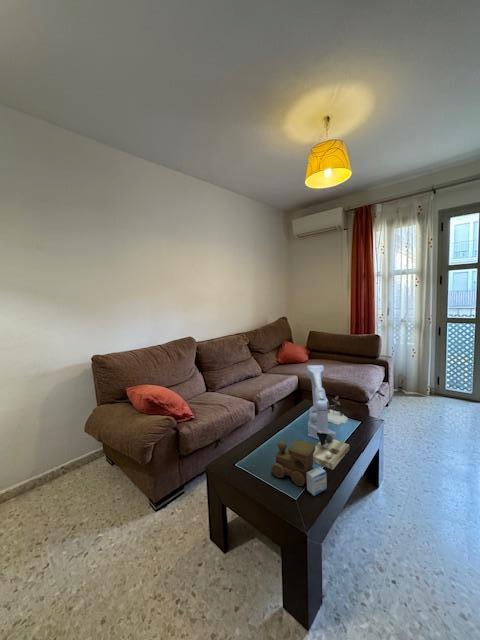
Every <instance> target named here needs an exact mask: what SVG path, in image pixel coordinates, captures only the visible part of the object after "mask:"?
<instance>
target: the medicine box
mask: <svg viewBox="0 0 480 640" xmlns="http://www.w3.org/2000/svg"><path fill="white" fill-rule="evenodd" d="M327 486H328V485H327V471H326V470H325V469H323V468H322V467H321V466H318V467H315V468H314V469H313V470H311V471H309V472H307V483H306V490H307V491H308V492H309V494H311V495H312V496H313V497H315V496H317V495H319V494H321V493H322V492H324V491H326V490H327V488H328V487H327Z"/></svg>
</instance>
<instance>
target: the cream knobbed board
mask: <svg viewBox="0 0 480 640" xmlns="http://www.w3.org/2000/svg"><path fill="white" fill-rule="evenodd" d="M325 442H326V443H327V444H328V448H327V449H325V448H323V446H321V442H320V441H319V442H318V443H317V444H316V445H315V452H314V454H313V463H315V464H318V465H320V466H322V467H324V468H327V469H330V470H332V471H333V470H334V469H335V468H336V467H337V466H338V464H339V463H340V462H341V460H343V458H344V457H345V456H346V455H347V453H349V451H350V443H349V444H348V443H346V442H343V441H340V440H337V439H334V438H333V440H332V441H331V442H327V441H326V440H325ZM327 451H329V452H330V453H331V457H330V458H327V457H326V455H325V453H326V452H327ZM345 454H346V455H345Z"/></svg>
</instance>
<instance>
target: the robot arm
mask: <svg viewBox="0 0 480 640" xmlns="http://www.w3.org/2000/svg"><path fill="white" fill-rule="evenodd" d="M324 374H325V368H324V365H323V364H319V365H318V364H317V365H315V364H313V365H311V364H309V365H308V364H307V366H306V375H307V379H310V382H311V390H312V391H311V392H312V401H313V402H312V403H313V405H312V406H311V407H309V410H308V411H309V420H308V422H307V433H308V434H307V436H308V437H311V438H312V439H313V438H314V439H317V440H319V442H321V446H323V443H324V442H325V440H326V437H327V435H331V436H332V438H336V437H337V432H336V431H334V430H332V429H330V428H329V422H328V411H327V410H329V409H330V404H329V400H328V398H327V396H326V390H325V388H324V387H323V384H322V383H323V382H322V379H323V377H324Z"/></svg>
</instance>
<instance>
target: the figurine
mask: <svg viewBox="0 0 480 640" xmlns="http://www.w3.org/2000/svg"><path fill="white" fill-rule="evenodd" d="M338 399H339V396H335V397H334V398H332V399H331V400H332V402H334V405H330V404H329V407H331V408H332V407H334V408H333V409H331V408H329V410H327V411H328V423H331V424H333V425H341V424H345V423H348V421H349V419H348V417H347V416H346V415H344V413H343V411H342V409H339V410H338V411H336V410H335V408H336V406H337V405H339V406H341V403H340V401H337V400H338Z"/></svg>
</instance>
